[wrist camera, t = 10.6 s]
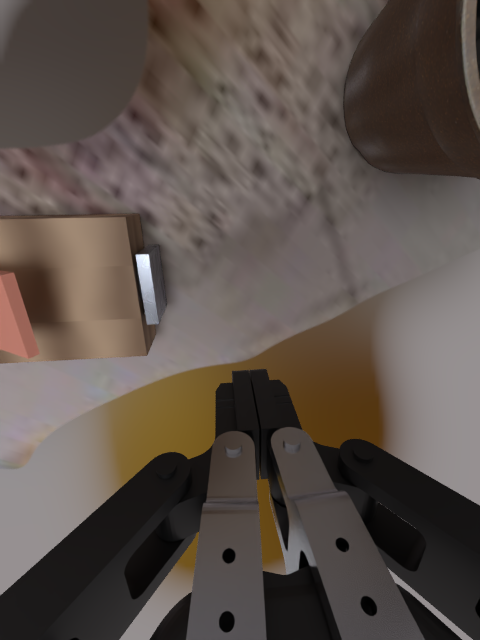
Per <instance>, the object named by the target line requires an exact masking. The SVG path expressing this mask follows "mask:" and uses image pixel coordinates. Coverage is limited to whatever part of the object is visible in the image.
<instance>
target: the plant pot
mask: <svg viewBox="0 0 480 640" xmlns="http://www.w3.org/2000/svg"><path fill="white" fill-rule="evenodd" d="M344 115H345V122H346V128H347V132H348V134H349V137H350V139H351V142H352V144H353V145H354V146H355V147H356V148H357V149H358V150H359V151H360V152H361V154H362V155H363V156H364V158H365V159H366V160H367V162H368V163H369V164H371V165H372V166H374V167H376V168H378V169H380V170H383V171H386V172H391V173H411V174H429V175H447V176H462V177H474V178H478V179H480V0H389V2H388V3H387V4H386V6H385V7H384V9H383V10H382V11H381V13H380V14H379V15H378V17H377V18H376V19H375V20H374V22H373V23H372V24H371V26H370V27H369V29H368V30H367V32H366V33H365V35H364V36H363V38H362V39H361V41H360V43H359V45H358V47H357V49H356V51H355V53H354V56H353V58H352V61H351V64H350V67H349V70H348V75H347V79H346V84H345V92H344Z"/></svg>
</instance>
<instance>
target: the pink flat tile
mask: <svg viewBox="0 0 480 640" xmlns="http://www.w3.org/2000/svg"><path fill="white" fill-rule="evenodd" d="M0 350H3V351H6V352H9V353H12V354H15V355H18V356H21V357H24V358H27V359H30V358H32V357H34V356H36V355H38V354H40V352H39V349H38V346H37V343H36V340H35V337H34V334H33V331H32V327H31V324H30V321H29V318H28V315H27V312H26V309H25V306H24V303H23V299H22V296H21V293H20V290H19V287H18V284H17V281H16V278H15V275H14V272H7V271H1V270H0Z"/></svg>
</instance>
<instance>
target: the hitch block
mask: <svg viewBox="0 0 480 640" xmlns="http://www.w3.org/2000/svg"><path fill="white" fill-rule="evenodd" d="M142 249H144V244H143V236H142V229H141V222H140V215H139V214H90V215H32V216H0V270H1V271H7V272H14V275H15V278H16V281H17V284H18V287H19V290H20V293H21V296H22V299H23V303H24V306H25V309H26V312H27V315H28V318H29V321H30V324H31V327H32V331H33V334H34V337H35V340H36V343H37V346H38V349H39V352H40V354H38V355H36V356H34V357H32V358H30V359H27V358H24V357H21V356H18V355H15V354H12V353H9V352H6V351H3V350H0V363H18V362H37V361H56V360H74V359H93V358H112V357H131V356H147V355H148V352H149V350H150V347H151V345H152V342H153V340H154V338H155V335H156V330H155V324H150V325H147V321H146V315H145V309H144V303H143V301H141V297H140V290H139V284H138V277H137V271H136V263H137V261H136V254H137V253H138V252H140V251H141V250H142Z"/></svg>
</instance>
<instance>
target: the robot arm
mask: <svg viewBox="0 0 480 640" xmlns="http://www.w3.org/2000/svg"><path fill="white" fill-rule="evenodd" d="M259 469H260V476H261V479H268V481H269V487H270V504H271V508H272V511H273V515H274V519H275V523H276V527H277V531H278V535H279V539H280V543H281V547H282V551H283V555H284V559H285V565H286V575H280V574H275V573H270V572H265V571H262V553H261V536H260V519H259V505H258V499H257V480H259ZM380 503H381V504H380ZM383 505H384V506H383ZM387 508H388V509H387ZM390 510H391V511H390ZM394 513H395V514H394ZM397 515H398V516H397ZM400 517H401V518H402V519H401V518H400ZM404 520H405V521H404ZM407 522H408V523H407ZM410 524H411V525H412V526H411V525H410ZM414 527H415V528H414ZM197 532H199V539H198V546H197V555H196V563H195V571H194V579H193V587H192V592H191V593H189V594H188V595H187V596H185V597H184V598H183V599H182V600H180V601H179V602H178V603H177V604H176V605H175V606H174V607H173V608H172V609H171V610H170V611H169V613H168V614H167V615H166V616H165V618H164V619H163V620H162V622H161V623H160V625H159V626H158V627H157V629H156V631H155V632H154V634H153V635H152V637H151V638H150V640H462V639H461V638H460V637H459V636H457V635H456V634H455V633H454V632H453V631H452V630H451V629H450V628H448V627H447V626H446V625H445V624H444V623H443V622H442V621H441V620H440V619H438V618H437V617H436V616H435V615H434V614H433V613H432V612H431V611H430V610H428V609H427V608H426V607H425V606H424V605H423V604H422V603H421V602H420V601H418V600H417V599H416V598H415V597H414V596H413V595H411V594H410V593H409V592H408V591H406V590H405V589H404V588H402V587H401V586H400V585H398V584H396V583H395V582H394V580H393V578H392V576H391V574H390V572H389V570H388V568H389V569H390V570H391V571H392V572H394V573H395V574H396V575H397V576H398V577H399V578H400V579H402V580H403V581H404V582H405V583H406V584H408V585H409V586H410V587H411V588H412V589H414V590H415V591H416V592H417V593H418V594H419V595H421V596H422V597H423V598H424V599H425V600H427V601H428V602H429V603H430V604H431V605H433V606H434V607H435V608H436V609H437V610H438V611H440V612H441V613H442V614H443V615H444V616H446V617H447V618H448V619H449V620H450V621H452V622H453V623H454V624H455V625H456V626H458V627H459V628H460V629H461V630H462V631H463V632H465V633H466V634H467V635H468V636H469V637H471V638H472V639H473V640H480V506H479V505H478V504H476V503H474V502H472V501H471V500H469V499H467V498H466V497H464V496H462V495H460V494H459V493H457V492H455V491H453V490H452V489H450V488H448V487H447V486H445V485H443V484H441V483H439V482H438V481H436V480H434V479H432V478H431V477H429V476H427V475H426V474H424V473H422V472H420V471H418V470H417V469H415V468H414V467H412V466H410V465H408V464H407V463H405V462H403V461H401V460H400V459H398V458H396V457H394V456H393V455H391V454H389V453H388V452H386V451H384V450H382V449H381V448H379V447H377V446H375V445H374V444H372V443H370V442H367V441H365V440H361V439H350V440H347V441H345V442H344V443H343V444H342V445H341V446H340V449H338V448H333V447H328V446H323V445H320V444H317V443H315V442H313V441H312V439H311V438H310V436H309V435H308V434H307V433H306V432H304V431H303V430H302V428H301V425H300V422H299V420H298V417H297V414H296V411H295V409H294V406H293V404H292V400H291V398H290V395H289V392H288V389H287V387H286V386H285V385H284V384H283V383H282V382H281V381H280V380H269V377H268V373H267V370H266V369H259V370H250V371H249V370H243V371H232V383H221V384H220V385H219V387H218V388H217V390H216V436H215V441H214V443H213V445H212V446H211V448H210V449H209V450H207V451H206V452H205V453H203V454H201V455H199V456H197V457H194V458H191V459H187V458H186V457H185V456H184V455H182V454H180V453H176V452H168V453H164V454H161V455H159V456H157V457H155V458H154V459H153V460H152V461H150V462H149V463H148V464H147V465H146V466H145V467H144V468H143V469H142V470H140V471H139V472H138V473H137V474H136V475H135V476H134V477H133V478H131V479H130V480H129V481H128V482H127V483H126V484H125V485H124V486H122V487H121V488H120V489H119V490H118V491H117V492H116V493H115V494H114V495H112V496H111V497H110V498H109V499H108V500H107V501H106V502H105V503H103V504H102V505H101V506H100V507H99V508H98V509H97V510H96V511H94V512H93V513H92V514H91V515H90V516H89V517H88V518H87V519H86V520H85V521H83V522H82V523H81V524H80V525H79V526H78V527H77V528H76V529H74V530H73V531H72V532H71V533H70V534H69V535H68V536H67V537H65V538H64V539H63V540H62V541H61V542H60V543H59V544H58V545H57V546H55V547H54V549H52V550H51V551H50V552H49V553H48V554H46V555H45V556H44V557H43V558H42V559H41V560H40V561H39V562H38V563H36V565H34V566H33V567H32V568H31V569H30V570H29V571H27V572H26V573H25V574H24V575H23V576H22V577H21V578H20V579H18V580H17V581H16V582H15V583H14V584H13V585H12V586H11V587H10V588H8V589H7V590H6V591H5V592H4V593H3V594H2V595H1V596H0V640H119V639H120V638H121V636H122V635H123V634H124V632H125V631H126V630H127V628H128V627H129V625H130V624H131V623H132V622H133V620H134V619H135V617H136V616H137V615H138V614H139V612H140V611H141V610H142V608H143V607H144V605H145V604H146V603H147V601H148V600H149V599H150V597H151V596H152V595H153V593H154V592H155V591H156V589H157V588H158V587H159V585H160V584H161V582H162V581H163V580H164V579H165V577H166V576H167V575H168V573H169V572H170V571H171V569H172V568H173V566H174V565H175V564H176V563H177V561H178V560H179V559H180V557H181V556H182V554H183V553H184V552H185V550H186V549H187V548H188V546H189V545H190V544H191V542H192V541H193V539H194V538H195V536H196V533H197Z"/></svg>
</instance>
